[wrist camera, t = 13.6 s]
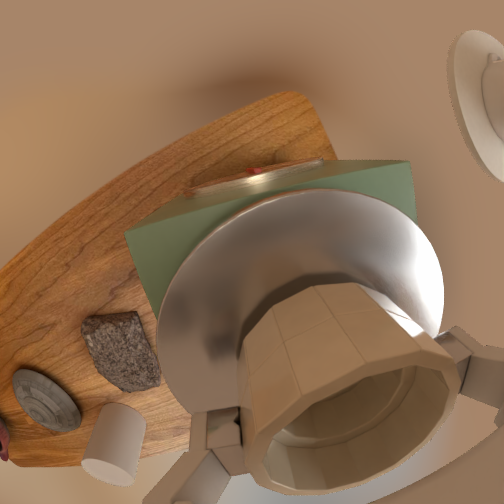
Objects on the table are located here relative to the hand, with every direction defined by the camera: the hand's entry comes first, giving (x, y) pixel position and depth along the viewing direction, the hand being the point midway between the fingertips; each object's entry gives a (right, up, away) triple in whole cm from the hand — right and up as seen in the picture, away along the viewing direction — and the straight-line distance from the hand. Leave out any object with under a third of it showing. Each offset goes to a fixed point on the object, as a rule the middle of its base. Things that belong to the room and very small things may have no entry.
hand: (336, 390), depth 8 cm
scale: (-2, +8, +24) cm, 25 cm away
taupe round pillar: (-24, -23, +31) cm, 46 cm away
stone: (-20, -8, +27) cm, 35 cm away
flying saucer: (-39, -22, +29) cm, 53 cm away
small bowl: (0, +1, +2) cm, 2 cm away
